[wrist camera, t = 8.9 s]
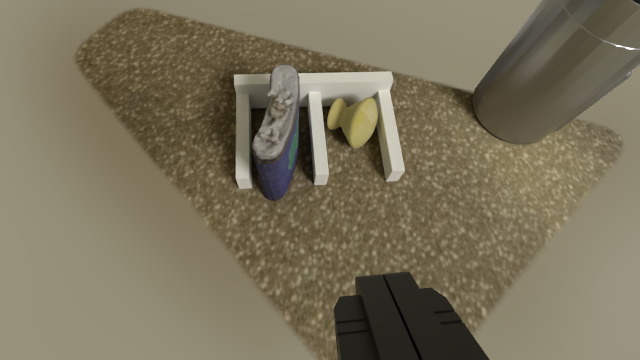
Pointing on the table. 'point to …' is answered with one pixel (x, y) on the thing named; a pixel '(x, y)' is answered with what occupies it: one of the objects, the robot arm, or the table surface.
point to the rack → (319, 116)
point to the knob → (354, 120)
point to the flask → (278, 134)
